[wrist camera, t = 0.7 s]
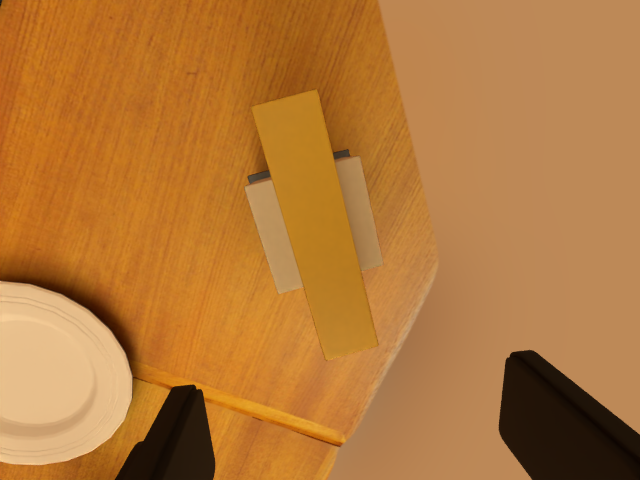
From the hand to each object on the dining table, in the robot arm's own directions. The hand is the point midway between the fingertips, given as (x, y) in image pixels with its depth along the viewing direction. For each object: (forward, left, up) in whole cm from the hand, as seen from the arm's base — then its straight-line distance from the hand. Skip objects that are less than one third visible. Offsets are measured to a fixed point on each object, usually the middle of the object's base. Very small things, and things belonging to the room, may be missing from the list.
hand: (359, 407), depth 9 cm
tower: (-3, -2, -23) cm, 23 cm away
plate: (+26, -18, -23) cm, 39 cm away
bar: (-3, -2, -11) cm, 11 cm away
